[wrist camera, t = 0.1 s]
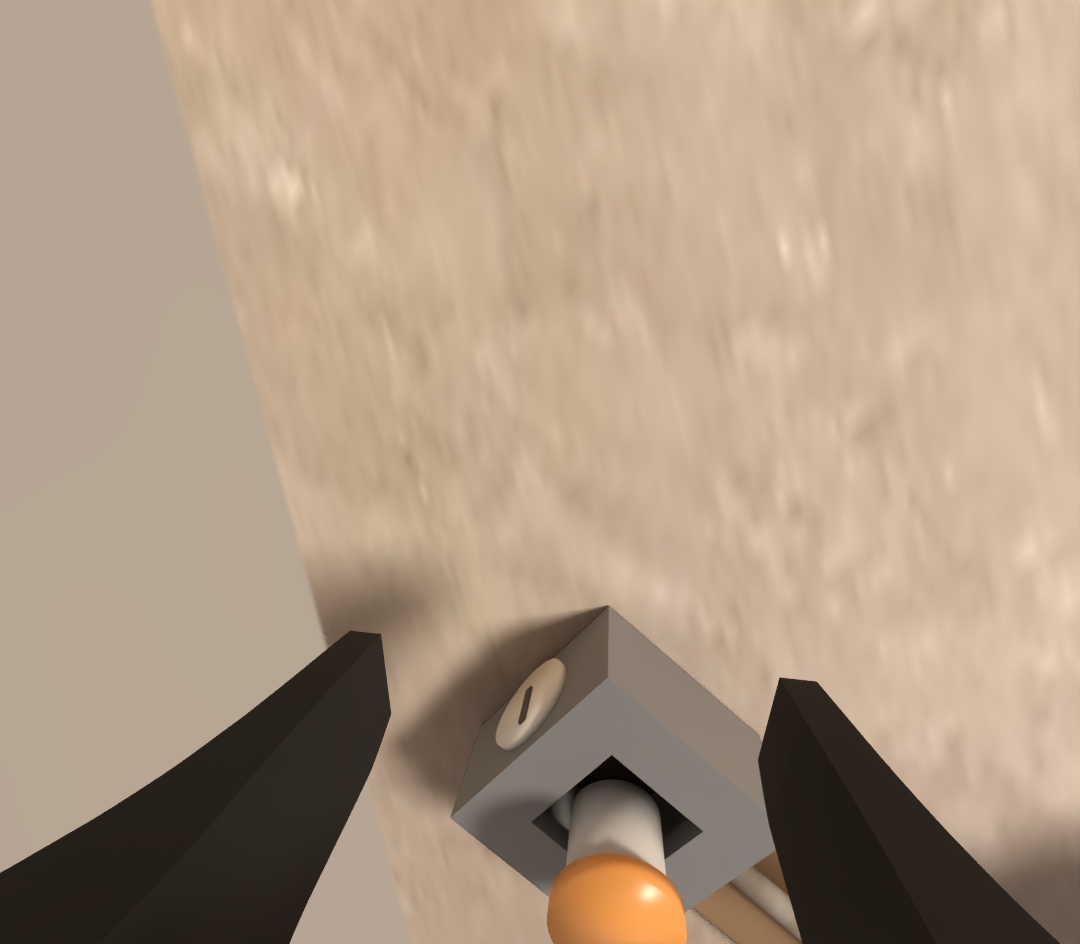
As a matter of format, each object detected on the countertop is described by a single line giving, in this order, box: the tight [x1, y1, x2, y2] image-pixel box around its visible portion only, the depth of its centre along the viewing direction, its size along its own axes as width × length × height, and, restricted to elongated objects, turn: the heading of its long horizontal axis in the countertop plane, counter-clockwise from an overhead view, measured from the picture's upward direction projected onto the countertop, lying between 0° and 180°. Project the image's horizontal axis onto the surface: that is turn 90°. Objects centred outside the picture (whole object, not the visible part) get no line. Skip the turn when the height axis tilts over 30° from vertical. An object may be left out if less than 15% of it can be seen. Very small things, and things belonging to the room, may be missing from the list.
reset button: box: [547, 780, 687, 944], centre depth 17 cm, size 4×4×4 cm
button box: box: [450, 606, 776, 912], centre depth 20 cm, size 8×8×4 cm
